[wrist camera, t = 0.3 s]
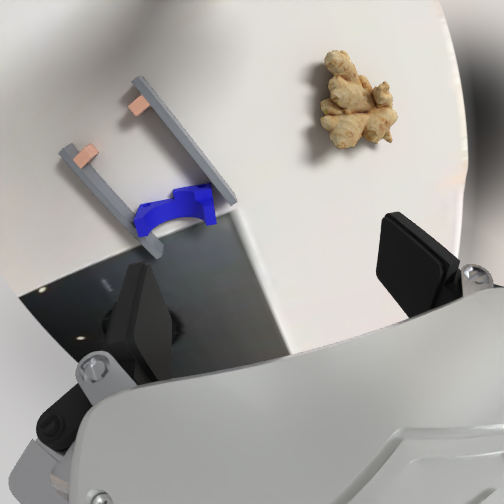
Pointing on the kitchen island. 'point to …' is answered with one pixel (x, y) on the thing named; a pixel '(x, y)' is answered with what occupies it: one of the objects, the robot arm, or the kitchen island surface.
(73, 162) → the guide channel
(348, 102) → the ginger root
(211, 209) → the cable clip
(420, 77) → the kitchen island surface
